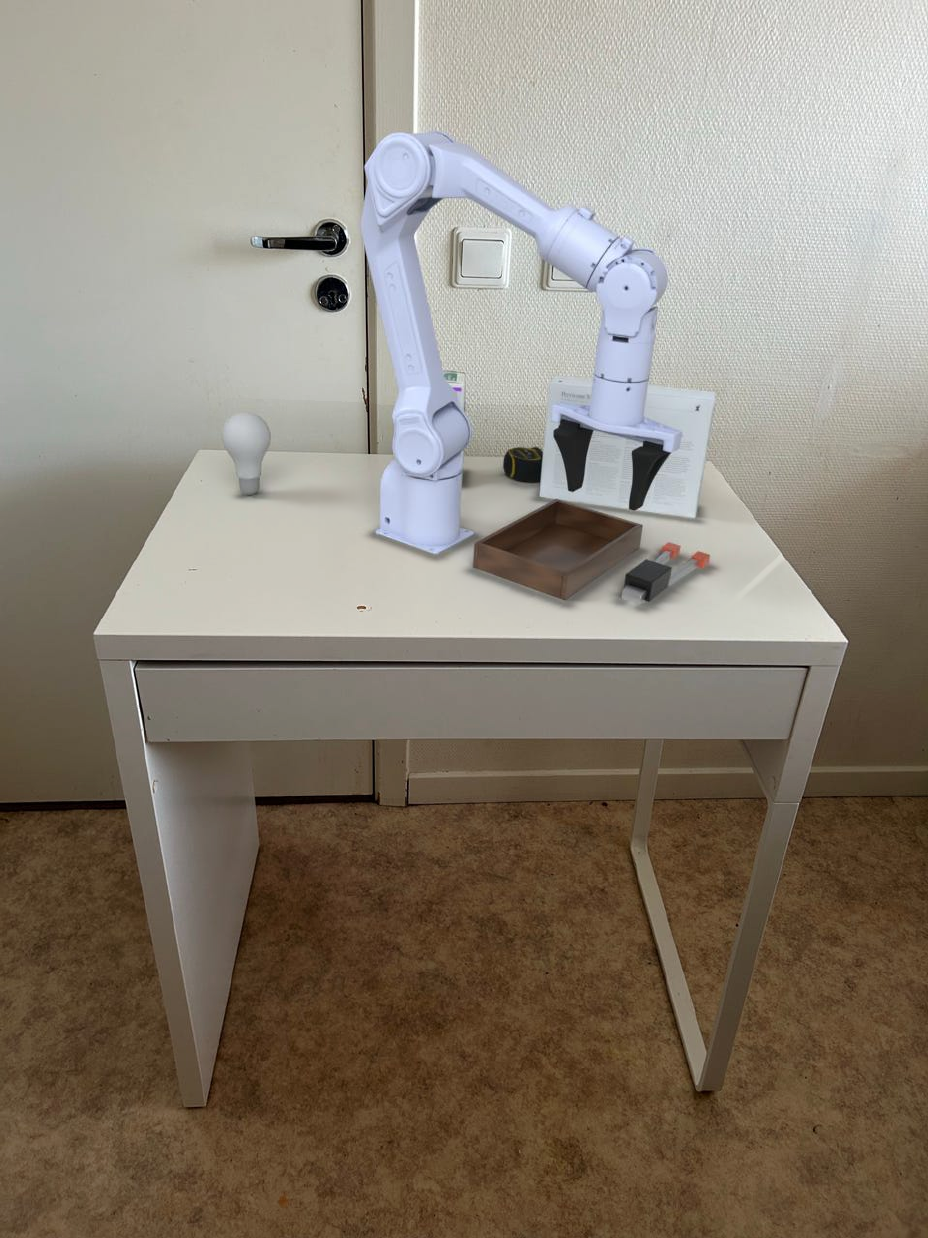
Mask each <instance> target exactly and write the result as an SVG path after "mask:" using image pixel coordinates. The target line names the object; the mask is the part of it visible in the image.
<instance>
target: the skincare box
mask: <svg viewBox="0 0 928 1238" xmlns="http://www.w3.org/2000/svg"><path fill="white" fill-rule="evenodd" d="M592 383H593V378H589V377H580V376H579V377H578V376H570V375H569V376H568V375H560V374H559V375H558V374H555V375H554V376H553V377H552V379H551V380H550V381H549V383H548V393H547V406H546V416H545V427H544V435H543V436H544V437H543V447H542V451H543V460H542V471H541V481H540V483H539V484H540V485H539V494H538V497H541V498H548V499H553V500H555V499H558V500H562V501H567V502H575V503H583V504H589V505H590V504H591V505H598V506H605V507H610V508H611V507H612V508H619V509H626V510H630V509H629V498H630V493H631V487H632V477H633V464H632V450H634V449H636V448H638V447H640V446H641V447H642V446H643V443H641V442H637V441H633V440H629V439H626V438H622V437H618V436H614V435H610V434H606V433H603V432H599V431H595V430H594V431H593V434H592V437H591V440H590V444H589V448H588V452H587V457H586V465H585V474H584V481H583V485H582V488H580V489H578V490H576V491H574V492H570V491H568V486H567V478H566V472H565V467H564V462H563V459H562V456H561V453H560V450H559V447H558V445H557V443H556V441H555V439H554V437H553V431H554V430H555V429H557V428H558V427H559V425H560V423H556V422H552V421H551V415H552V405H553V404H555V403H557V402H560V401H565V402H570V403H576V404H583V405H590V400H591V391H592ZM716 398H717V392H716V391H713V390H703V389H702V390H700V389H693V388H683V387H675V386H666V385H665V386H664V385H655V384H648V388H647V395H646V402H645V409H644V415H643V416H644V417H646V418H649V419H651V420H654V421H656V422H659V423H661V424H664V425H666V426H669V427H671V428H675V429H678V430H682V437H681V442H680V448H679V449H677V450H676V451H674V452H672V453H671V454H670V455H669V457H668V458H667V459H666V461H665V462H664V463H663V465H662V466H661V468H660V469H659V471H658V473H657V474H656V476H655V478H654V480H653V482H652V484H651V486H650V488H649V490H648V492H647V495H646V498H645V500H644V503H643V506H642V507H640V508H639V509H637V510H636V511H641V512H649V513H656V514H664V515H670V516H678V517H685V518H692V519H696V518H697V513H698V508H699V502H700V497H701V490H702V485H703V479H704V472H705V468H706V467H705V466H706V461H707V455H708V450H709V449H708V448H709V443H710V436H711V431H712V424H713V417H714V412H715V405H716Z"/></svg>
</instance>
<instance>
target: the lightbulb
mask: <svg viewBox="0 0 928 1238" xmlns="http://www.w3.org/2000/svg"><path fill="white" fill-rule="evenodd" d="M221 440H222V444H223V447H224V448H225V450H226V452H227V453H228V455H229V456H230V458H231V459H232V462H233V464H234V467H235V474H236V476H237V477H238V485H239V490H240V492H241V493H243V494H245V495H247V496H253V495H255V493H257V492H259V490H260V485H261V484H260V481H261V479H260V478H261V477H260V476H261V475H262V464H263V461H264V457H265V455H266V454H267V452H268V450H269V447H270V445H271V440H272V434H271V430H270V428H269V425H268V423H267V422H266V421H265V420H264V418H263V417H261V416H260V415H258V414H256V413H253V412H251V411H240V412H237V413H234V414H233V415H231V416H229V417H228V418H227V420H226V421H225V422H224V424H223V426H222V430H221Z"/></svg>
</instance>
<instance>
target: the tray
mask: <svg viewBox="0 0 928 1238" xmlns="http://www.w3.org/2000/svg"><path fill="white" fill-rule="evenodd" d="M643 527H644V526H643V524H641V523H638V522H635V521H630V520H628V519H625V518H621V517H619V516H615V515H612V514H609V513H605V512H602V511H598V510H595V509H592V508H588V507H584V506H582V505H579V504H576V503H575V504H574V503H571V502H570V501H566V500H561V499H553V500H551V501H549V502H547V503H545V504H544V505H542V506H540V507H538V508H536V509H535V510H533V511H530V512H528V513H527V514H525V515H523V516H521V517H520V518H518V519H516V520H514V521H512V522H511V523H509V524H507V525H504V526H503V527H501V528H499V529H498V530H496V531H493V532H492V533H491V534H488V535H487V536H485V537H483V538H481V539H479V540H477V541H475V542H474V544H473V557H472V559H473V560H472V568H474V569H476V570H479V571H482V572H485V573H488V574H490V575H493V576H495V577H498V578H501V579H505V580H506V581H509V582H513V583H514V584H518V585H521V586H524V587H526V588H529V589H532V590H534V591H537V592H540V593H543V594H544V595H545V594H546V595H548V596H551V597H553V598H557V599H559V600H562V601H566V600H567V599H569V598H570V597H572V596H573V595H575V594H577V593H578V592H579V591H581V590H582V589H583V588H585V587H586V586H588V585H589V584H590V583H592V582H594V581H595V580H597V578H599V577H601V576H602V575H603V574H605V573H606V572H608V571H609V570H611V569H612V568H613V567H615V566H617V565H618V564H619V563H620V562H622V561H623V560H625V559H626V558H628V557H629V556H631V555H632V554H634V553H635V552H636V551H638V550H639V549H640V547H641V540H642V534H643V533H642V532H643V529H644V528H643Z"/></svg>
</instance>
